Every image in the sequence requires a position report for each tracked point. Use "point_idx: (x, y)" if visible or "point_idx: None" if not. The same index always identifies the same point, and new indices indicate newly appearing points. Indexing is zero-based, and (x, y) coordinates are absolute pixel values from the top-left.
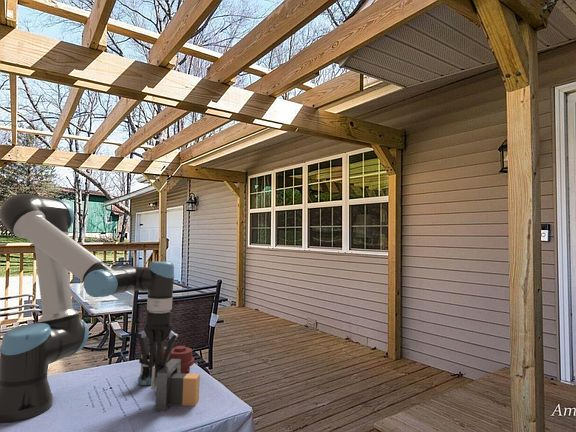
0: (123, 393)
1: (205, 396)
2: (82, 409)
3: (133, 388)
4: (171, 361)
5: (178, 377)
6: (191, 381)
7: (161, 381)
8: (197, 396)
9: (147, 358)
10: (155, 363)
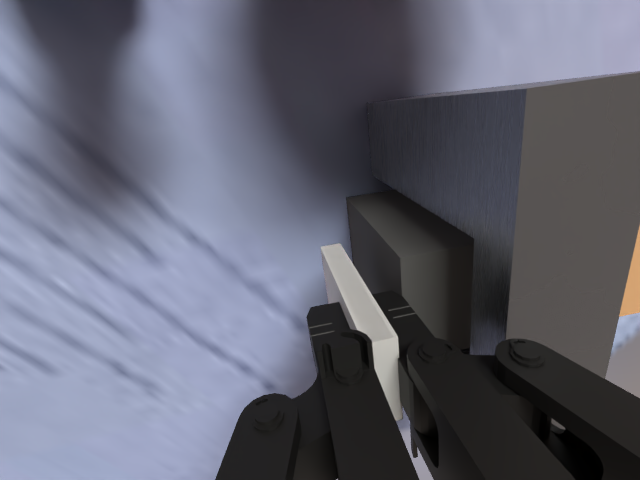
0: (53, 180)
1: None
2: (20, 403)
3: (47, 76)
4: (548, 221)
5: None
6: None
7: None
8: None
9: (262, 469)
10: (371, 370)
